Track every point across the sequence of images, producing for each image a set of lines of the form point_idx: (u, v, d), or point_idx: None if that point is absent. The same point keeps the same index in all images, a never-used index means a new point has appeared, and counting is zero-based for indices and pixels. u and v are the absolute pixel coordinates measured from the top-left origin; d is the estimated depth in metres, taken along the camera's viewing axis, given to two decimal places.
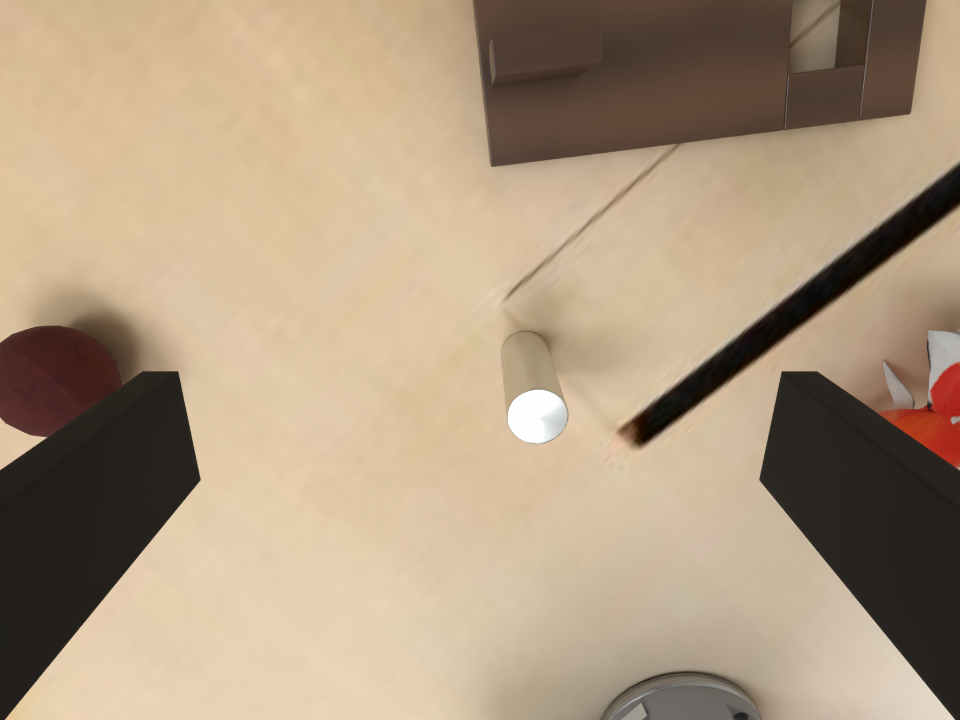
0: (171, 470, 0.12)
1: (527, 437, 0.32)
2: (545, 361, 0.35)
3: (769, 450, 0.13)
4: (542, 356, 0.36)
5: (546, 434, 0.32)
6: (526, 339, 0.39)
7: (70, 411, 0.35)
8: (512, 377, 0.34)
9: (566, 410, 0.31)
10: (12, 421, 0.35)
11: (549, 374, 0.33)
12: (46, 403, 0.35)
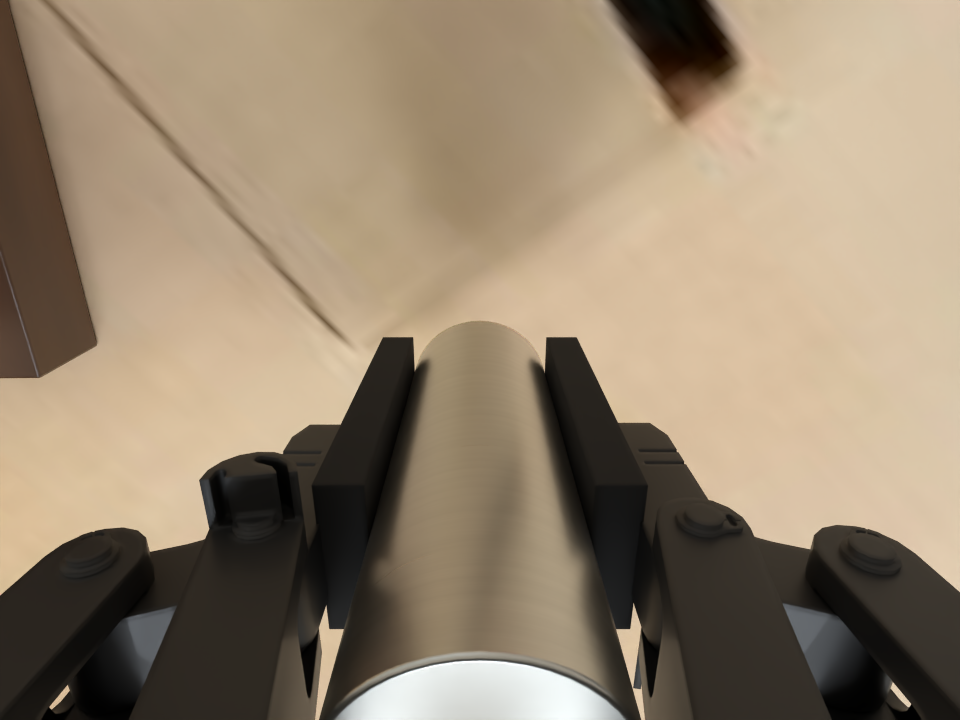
0: None
1: None
2: (401, 448, 0.10)
3: None
4: (403, 433, 0.10)
5: None
6: None
7: None
8: None
9: (456, 663, 0.05)
10: None
11: (381, 526, 0.08)
12: None
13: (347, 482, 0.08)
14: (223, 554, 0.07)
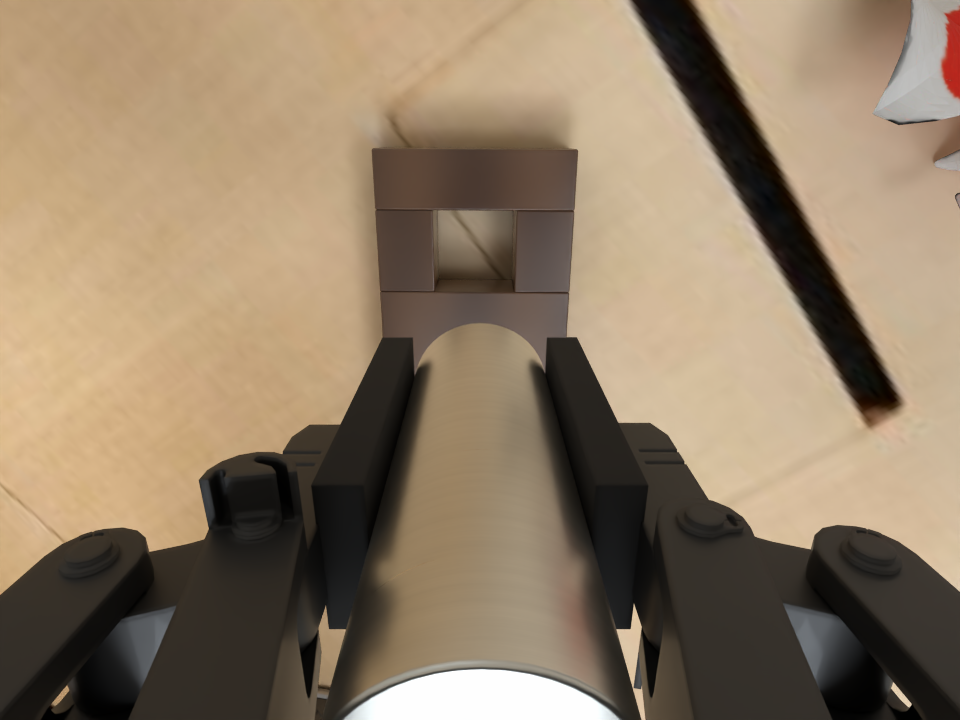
0: None
1: None
2: (402, 452, 0.10)
3: None
4: (403, 436, 0.10)
5: None
6: None
7: None
8: None
9: (458, 672, 0.05)
10: None
11: (382, 531, 0.08)
12: None
13: (347, 482, 0.08)
14: (223, 554, 0.07)
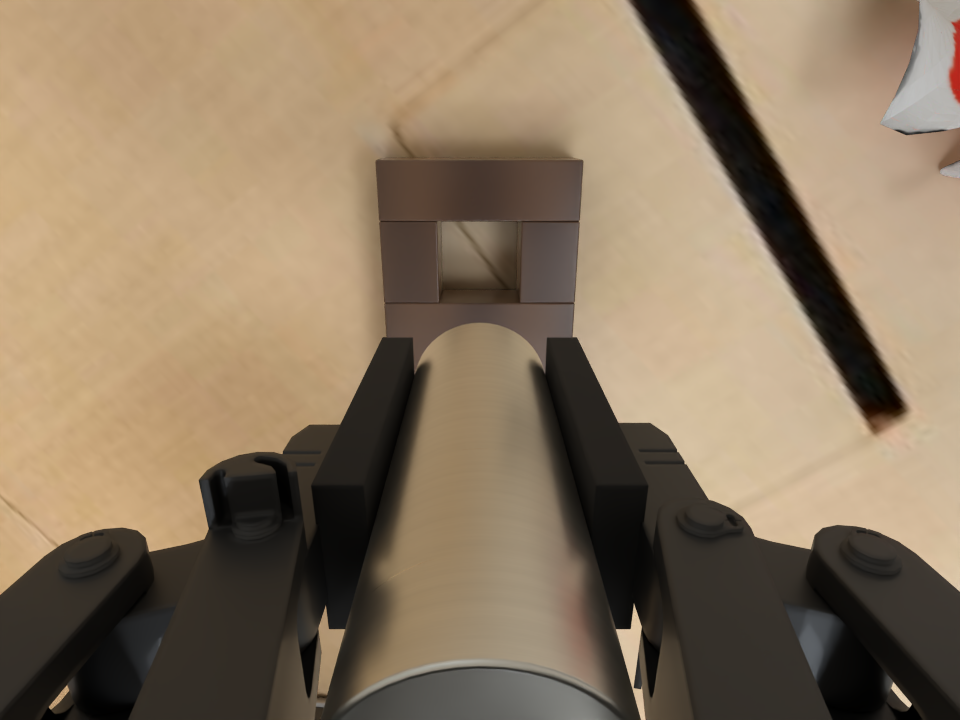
0: None
1: None
2: (401, 451, 0.10)
3: None
4: (403, 436, 0.10)
5: None
6: None
7: None
8: None
9: (456, 671, 0.05)
10: None
11: (381, 530, 0.08)
12: None
13: (347, 482, 0.08)
14: (222, 554, 0.07)
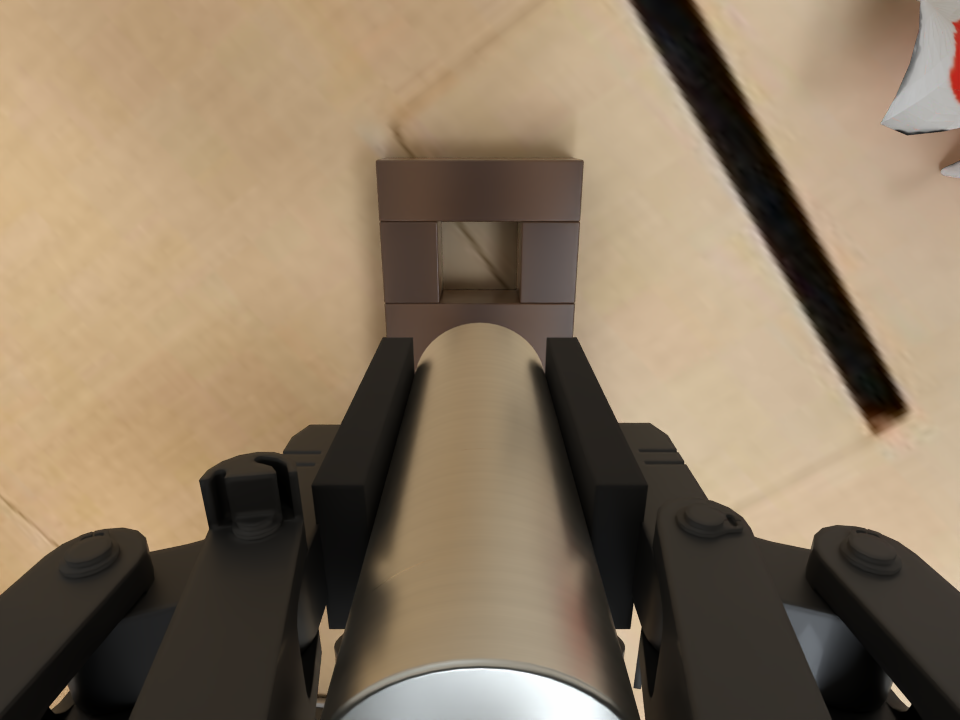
0: None
1: None
2: (401, 451, 0.10)
3: None
4: (403, 436, 0.10)
5: None
6: None
7: None
8: None
9: (456, 671, 0.05)
10: None
11: (381, 530, 0.08)
12: None
13: (347, 482, 0.08)
14: (223, 554, 0.07)
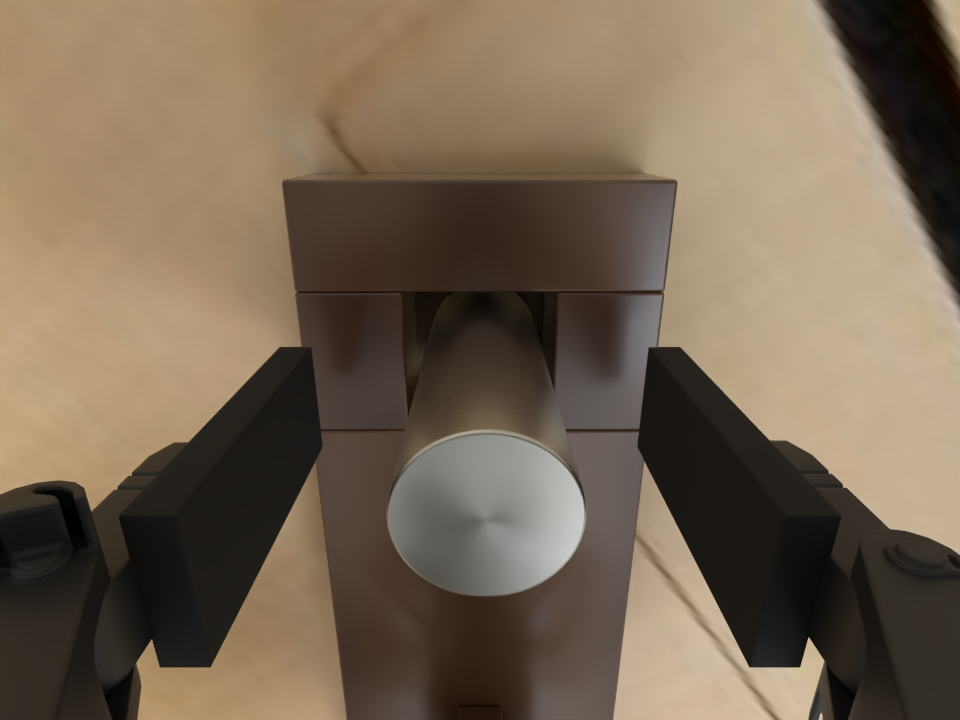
0: (308, 435, 0.13)
1: (555, 552, 0.10)
2: (428, 360, 0.14)
3: (641, 419, 0.14)
4: (428, 353, 0.14)
5: (555, 500, 0.09)
6: None
7: None
8: None
9: (473, 435, 0.09)
10: None
11: (420, 396, 0.12)
12: None
13: (160, 512, 0.08)
14: None
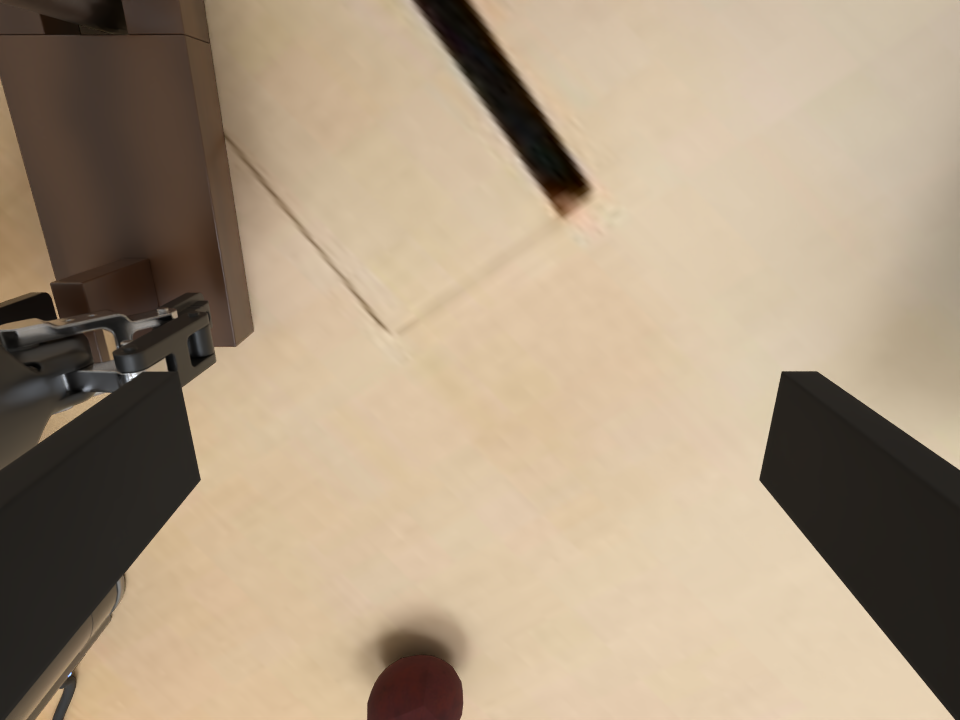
0: (171, 470, 0.12)
1: None
2: None
3: (769, 450, 0.13)
4: None
5: None
6: None
7: (426, 715, 0.42)
8: None
9: None
10: None
11: None
12: None
13: None
14: None
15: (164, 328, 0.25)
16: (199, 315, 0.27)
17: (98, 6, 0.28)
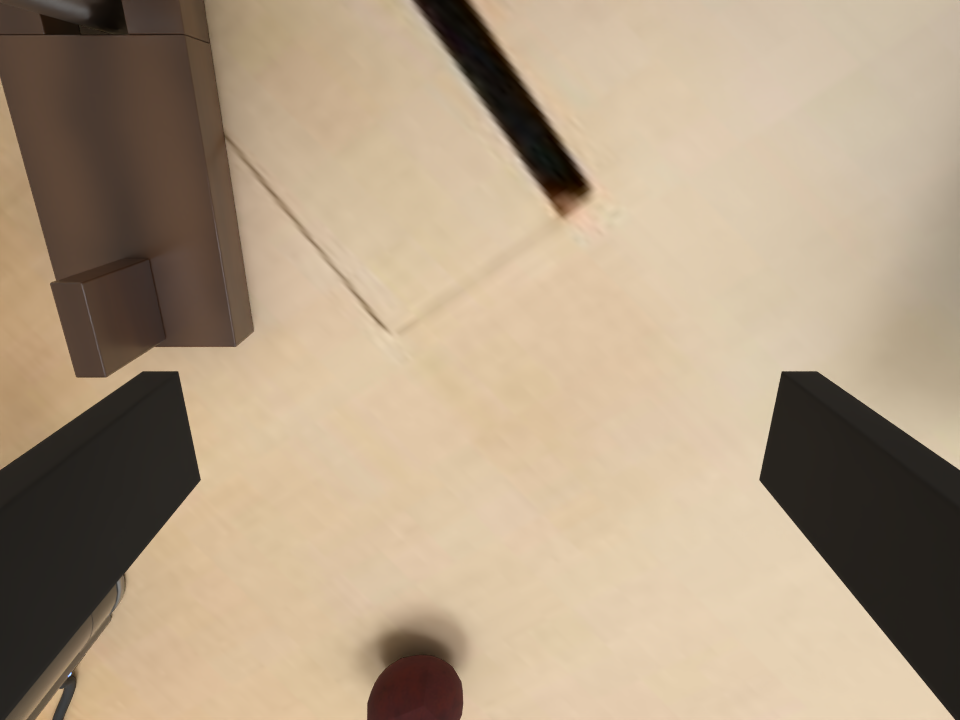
0: (171, 470, 0.12)
1: None
2: None
3: (769, 450, 0.13)
4: None
5: None
6: None
7: (426, 715, 0.42)
8: None
9: None
10: None
11: None
12: None
13: None
14: None
15: None
16: None
17: (98, 6, 0.28)
